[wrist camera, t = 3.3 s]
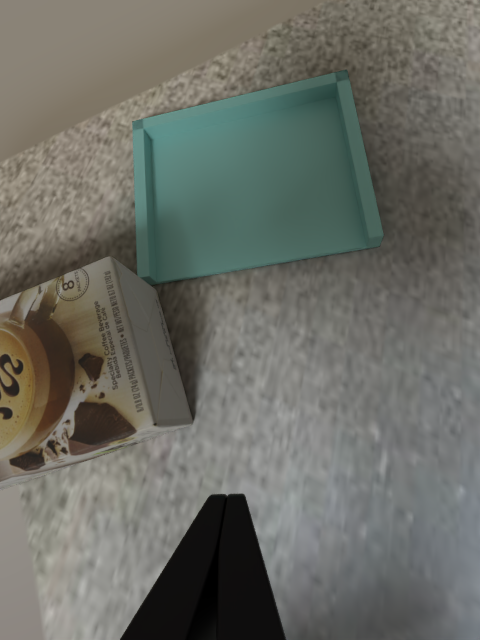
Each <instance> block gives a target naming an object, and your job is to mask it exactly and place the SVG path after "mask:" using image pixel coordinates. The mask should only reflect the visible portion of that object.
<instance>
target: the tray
mask: <svg viewBox="0 0 480 640" xmlns="http://www.w3.org/2000/svg"><path fill="white" fill-rule="evenodd" d="M132 124H133V156H134V187H135V218H136V250H137V276H138V277H140V278H141V279H142V280H144V281H145V282H146V283H148V284H149V285H155V284H161V283H167V282H173V281H179V280H185V279H191V278H197V277H203V276H208V275H214V274H220V273H226V272H232V271H238V270H244V269H250V268H256V267H262V266H268V265H273V264H279V263H285V262H291V261H297V260H303V259H309V258H315V257H321V256H327V255H333V254H338V253H344V252H350V251H356V250H362V249H368V248H374V247H380V244H381V241H382V239H383V236H384V234H383V230H382V225H381V221H380V216H379V212H378V207H377V203H376V198H375V194H374V189H373V185H372V180H371V175H370V171H369V166H368V162H367V157H366V153H365V148H364V144H363V139H362V135H361V130H360V126H359V121H358V117H357V112H356V107H355V103H354V98H353V94H352V89H351V85H350V80H349V76H348V71H347V70H343V71H338V72H334V73H330V74H326V75H322V76H318V77H314V78H310V79H305V80H301V81H297V82H293V83H289V84H285V85H281V86H277V87H273V88H268V89H264V90H260V91H256V92H252V93H248V94H244V95H240V96H235V97H231V98H227V99H223V100H219V101H215V102H211V103H207V104H202V105H198V106H194V107H190V108H186V109H182V110H178V111H174V112H169V113H165V114H161V115H157V116H153V117H149V118H145V119H141V120H136V121H132Z"/></svg>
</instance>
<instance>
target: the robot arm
mask: <svg viewBox="0 0 480 640" xmlns="http://www.w3.org/2000/svg"><path fill="white" fill-rule="evenodd" d="M120 640H286V637H285V634H284V630H283V627H282V623H281V620H280V616H279V613H278V609H277V606H276V602H275V599H274V595H273V591H272V588H271V584H270V581H269V577H268V574H267V570H266V567H265V563H264V560H263V556H262V553H261V549H260V546H259V542H258V539H257V535H256V532H255V528H254V525H253V521H252V518H251V514H250V511H249V507H248V504H247V500H246V497H245V495H244V494H229V495H228V496H227V495H226V494H212V495H210V496H209V497H208V499H207V500H206V502H205V503H204V505H203V507H202V508H201V510H200V511H199V513H198V515H197V516H196V518H195V519H194V521H193V523H192V524H191V526H190V527H189V529H188V531H187V532H186V534H185V536H184V537H183V539H182V540H181V542H180V544H179V545H178V547H177V548H176V550H175V552H174V553H173V555H172V556H171V558H170V560H169V561H168V563H167V564H166V566H165V568H164V569H163V571H162V573H161V574H160V576H159V577H158V579H157V581H156V582H155V584H154V585H153V587H152V589H151V590H150V592H149V593H148V595H147V597H146V598H145V600H144V602H143V603H142V605H141V606H140V608H139V610H138V611H137V613H136V614H135V616H134V618H133V619H132V621H131V622H130V624H129V626H128V627H127V629H126V631H125V632H124V634H123V635H122V637H121V639H120Z"/></svg>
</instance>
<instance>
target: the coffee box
mask: <svg viewBox="0 0 480 640" xmlns="http://www.w3.org/2000/svg"><path fill="white" fill-rule="evenodd" d="M192 424H193V420H192V416H191V412H190V409H189V405H188V401H187V398H186V394H185V391H184V387H183V383H182V380H181V376H180V373H179V369H178V365H177V362H176V358H175V355H174V351H173V347H172V344H171V340H170V336H169V333H168V329H167V325H166V322H165V318H164V314H163V311H162V307H161V304H160V300H159V296H158V293H157V291H156V289H154V288H153V287H152V286H150V285H149V284H148V283H146V282H145V281H144V280H142V279H141V278H140V277H138V276H137V275H136V274H134V273H133V272H132V271H130V270H129V269H128V268H127V267H125V266H124V265H123V264H121V263H120V262H119V261H117V260H116V259H115V258H113V257H112V256H108V257H105V258H103V259H100V260H98V261H96V262H93V263H91V264H88V265H86V266H83V267H81V268H79V269H76V270H74V271H71V272H69V273H66V274H64V275H62V276H59V277H57V278H54V279H52V280H49V281H47V282H44V283H42V284H39V285H37V286H34V287H32V288H30V289H27V290H25V291H22V292H20V293H17V294H14V295H12V296H9V297H7V298H4V299H2V300H0V490H3V489H5V488H8V487H11V486H14V485H17V484H20V483H23V482H26V481H29V480H32V479H35V478H38V477H40V476H43V475H46V474H49V473H52V472H55V471H58V470H61V469H64V468H66V467H69V466H72V465H75V464H78V463H81V462H84V461H87V460H90V459H93V458H96V457H99V456H102V455H105V454H108V453H111V452H114V451H117V450H120V449H122V448H125V447H128V446H131V445H134V444H137V443H140V442H143V441H146V440H149V439H152V438H155V437H158V436H160V435H163V434H166V433H169V432H172V431H175V430H178V429H181V428H184V427H187V426H190V425H192Z"/></svg>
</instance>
